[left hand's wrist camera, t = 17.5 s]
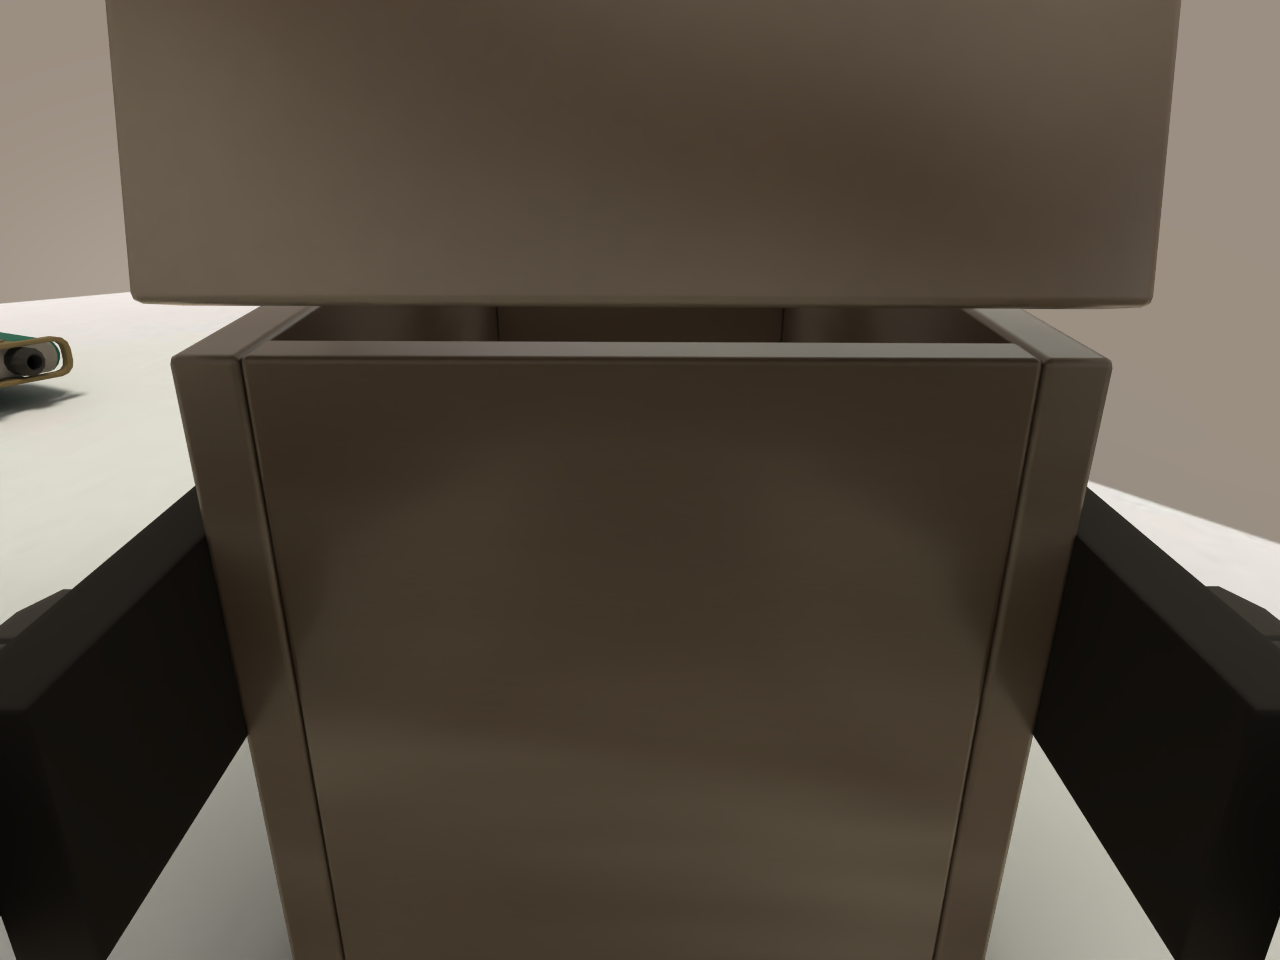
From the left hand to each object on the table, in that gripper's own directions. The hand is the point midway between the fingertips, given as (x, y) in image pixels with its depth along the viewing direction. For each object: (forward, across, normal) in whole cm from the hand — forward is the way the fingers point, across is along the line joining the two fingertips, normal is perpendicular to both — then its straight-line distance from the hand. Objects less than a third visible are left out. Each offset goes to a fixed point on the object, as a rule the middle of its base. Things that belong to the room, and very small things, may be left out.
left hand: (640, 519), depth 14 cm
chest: (+5, 0, -7) cm, 9 cm away
